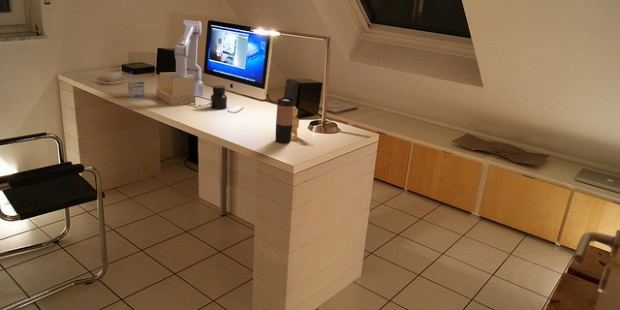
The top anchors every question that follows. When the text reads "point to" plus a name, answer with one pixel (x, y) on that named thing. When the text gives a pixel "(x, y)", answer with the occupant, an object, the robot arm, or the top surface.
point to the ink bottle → (218, 97)
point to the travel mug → (284, 120)
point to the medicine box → (136, 89)
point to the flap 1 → (166, 80)
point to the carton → (167, 97)
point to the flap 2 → (183, 86)
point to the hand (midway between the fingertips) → (181, 91)
